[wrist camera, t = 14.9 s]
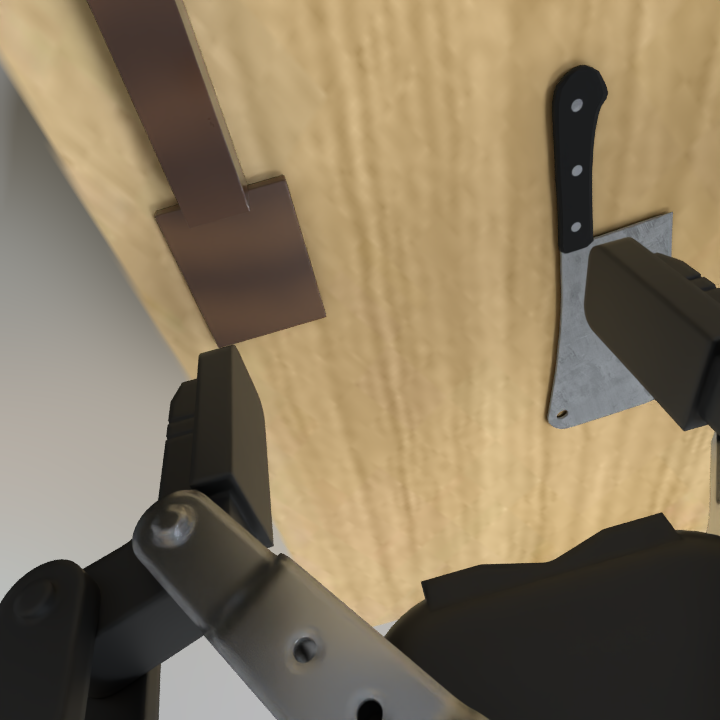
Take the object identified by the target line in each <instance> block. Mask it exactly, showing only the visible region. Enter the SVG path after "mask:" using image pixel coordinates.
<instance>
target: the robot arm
mask: <svg viewBox="0 0 720 720" xmlns="http://www.w3.org/2000/svg"><path fill="white" fill-rule="evenodd" d="M584 313H585V317H586V320H587V323H588V325H589V327H590V328H591V330H592V331H593V332H594V333H595V334H596V335H597V336H598V337H599V339H600V340H601V341H602V342H603V343H604V344H605V345H606V346H607V347H608V348H609V350H610V351H611V352H612V353H613V354H614V355H615V356H616V357H617V358H618V359H619V360H620V362H621V363H622V364H623V365H624V366H625V367H626V368H627V369H628V370H629V371H630V373H631V374H632V375H633V376H634V377H635V378H636V379H637V380H638V381H639V382H640V384H641V385H642V386H643V387H644V388H645V389H646V390H647V391H648V392H649V393H650V394H651V396H652V397H653V398H654V399H655V400H656V401H657V402H658V403H659V404H660V405H661V407H662V408H663V409H664V410H665V411H666V412H667V413H668V414H669V415H670V416H671V417H672V419H673V420H674V421H675V422H676V423H677V424H678V425H679V426H680V427H681V428H682V430H683V431H687V430H690V429H694V428H698V427H701V426H705V425H709V426H710V427H711V428H712V429H713V430H714V431H715V432H714V435H713V438H712V441H711V464H710V502H709V521H708V527H707V531H706V533H704V532H698V531H686V530H675V529H674V528H673V527H672V525H671V524H670V523H669V521H668V520H667V519H666V517H665V516H664V514H663V513H658V514H655V515H651V516H648V517H644V518H641V519H637V520H634V521H630V522H627V523H623V524H620V525H616V526H613V527H609V528H606V529H603V530H601V531H600V532H598V533H596V534H595V535H593V536H592V537H590V538H588V539H587V540H585V541H584V542H582V543H580V544H579V545H577V546H576V547H574V548H572V549H571V550H569V551H568V552H566V553H564V554H563V555H561V556H560V557H558V558H556V559H555V560H553V561H550V562H545V563H516V564H482V565H477V566H474V567H470V568H467V569H463V570H460V571H456V572H453V573H449V574H446V575H442V576H439V577H435V578H432V579H429V580H425V581H422V582H421V584H422V588H423V592H424V596H425V600H423V601H421V602H420V603H418V604H417V605H415V606H414V607H412V608H411V609H410V610H409V611H407V612H406V613H405V614H404V615H403V616H401V618H400V619H399V620H398V621H397V622H396V623H395V624H394V625H393V626H392V627H391V629H390V630H389V631H388V632H387V634H386V635H385V637H383V636H382V635H381V634H380V633H379V632H377V631H376V630H375V629H374V628H373V627H372V626H370V625H369V624H368V623H367V622H366V621H364V620H363V619H362V618H361V617H360V616H359V615H357V614H356V613H355V612H354V611H353V610H351V609H350V608H349V607H348V606H347V605H346V604H344V603H343V602H342V601H341V600H340V599H338V598H337V597H336V596H335V595H334V594H333V593H331V592H330V591H329V590H328V589H327V588H325V587H324V586H323V585H322V584H321V583H320V582H318V581H317V580H316V579H315V578H314V577H312V576H311V575H310V574H309V573H308V572H307V571H305V570H304V569H303V568H302V567H301V566H299V565H298V564H297V563H296V562H295V561H293V560H292V559H291V558H289V557H288V556H286V555H284V554H282V553H280V554H279V555H278V556H277V555H275V554H274V553H272V552H271V551H270V550H269V549H268V548H269V547H272V546H274V544H273V530H272V516H271V502H270V488H269V474H268V460H267V446H266V432H265V419H264V413H263V409H262V405H261V401H260V398H259V396H258V393H257V391H256V389H255V387H254V384H253V382H252V380H251V378H250V376H249V373H248V371H247V369H246V367H245V364H244V362H243V360H242V358H241V356H240V353H239V351H238V349H237V348H236V346H235V345H230V346H226V347H222V348H219V349H215V350H212V351H208V352H204V353H201V354H200V355H199V360H198V373H197V379H194V380H190V381H186V382H183V383H182V384H181V386H180V387H179V389H178V391H177V392H176V394H175V395H174V397H173V399H172V400H171V404H170V411H169V419H168V421H169V424H168V427H167V435H166V437H167V440H166V442H165V450H164V458H163V466H162V475H161V482H160V490H159V498H158V501H157V502H155V503H154V504H153V505H152V506H151V507H150V508H149V509H147V510H146V512H145V513H144V514H143V515H142V517H141V518H140V520H139V521H138V523H137V525H136V527H135V530H134V533H133V538H132V539H131V540H130V541H129V542H128V543H126V544H125V545H123V546H122V547H120V548H118V549H117V550H115V551H113V552H111V553H110V554H108V555H107V556H104V557H103V558H101V559H99V560H98V561H96V562H94V563H92V564H91V565H89V566H87V567H86V568H84V569H82V568H81V567H80V566H79V565H77V564H76V563H74V562H73V561H70V560H63V559H61V560H54V561H50V562H47V563H44V564H42V565H40V566H38V567H36V568H34V569H33V570H31V571H30V572H28V573H27V574H25V575H24V576H23V577H22V578H21V579H19V580H18V581H17V582H16V583H15V584H14V586H13V587H12V588H11V589H10V590H9V591H8V593H7V594H6V595H5V597H4V598H3V600H2V601H1V603H0V720H158V719H159V694H160V669H161V663H162V662H164V661H165V660H167V659H168V658H170V657H171V656H173V655H174V654H176V653H178V652H179V651H181V650H182V649H184V648H185V647H187V646H188V645H189V644H191V643H193V642H194V641H196V640H197V639H199V638H200V637H202V636H203V635H204V636H205V637H206V638H207V640H208V641H209V642H210V643H211V644H212V645H213V646H214V648H215V649H216V650H217V651H218V652H219V654H220V655H221V656H222V657H223V658H224V659H225V660H226V662H227V663H228V664H229V665H230V666H231V667H232V669H233V670H234V671H235V672H236V673H237V674H238V675H239V677H240V678H241V679H242V680H243V681H244V682H245V684H246V685H247V686H248V687H249V688H250V689H251V690H252V692H253V693H254V694H255V695H256V696H257V697H258V699H259V700H260V701H261V702H262V703H263V704H264V705H265V706H266V707H267V709H268V710H269V711H270V712H271V713H272V715H273V716H274V717H275V718H276V719H277V720H720V288H716V286H715V284H714V283H712V282H711V281H709V280H708V279H707V278H705V277H701V274H700V273H698V272H697V271H696V270H694V269H693V268H691V267H690V266H689V265H687V264H686V263H685V262H683V261H681V260H678V259H675V258H672V257H670V256H667V255H664V254H661V253H658V252H657V253H652V252H651V251H650V250H648V249H647V248H646V247H644V246H643V245H642V244H640V243H639V242H638V241H636V240H635V239H633V238H631V237H626V238H622V239H618V240H615V241H611V242H608V243H604V244H600V245H597V246H594V247H592V249H591V250H590V253H589V257H588V267H587V276H586V286H585V296H584Z"/></svg>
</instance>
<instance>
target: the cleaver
mask: <svg viewBox="0 0 720 720" xmlns="http://www.w3.org/2000/svg"><path fill="white" fill-rule="evenodd" d="M607 95H608V91H607V87H606V84H605V82H604V80H603V78H602V76H601V74H600V72H599V71H597V70H596V69H594V68H592V67H589V66H586V65H580V66H577V67H575V68H573V69H571V70H570V71H569V72H568V73H567V74H565V75H564V77H563V78H562V79H561V80H560V82H559V83H558V84H557V85H556V87H555V90H554V95H553V100H552V122H553V140H554V159H555V182H556V194H557V211H558V247H559V251H560V272H561V312H560V328H559V340H558V350H557V359H556V369H555V375H554V381H553V387H552V393H551V399H550V404H549V410H548V415H547V419H548V422H549V423H550V424H551V425H552V426H553V427H555V428H559V429H565V428H570V427H573V426H576V425H580V424H583V423H586V422H589V421H592V420H595V419H598V418H601V417H604V416H607V415H611V414H614V413H617V412H620V411H623V410H626V409H629V408H632V407H635V406H638V405H641V404H644V403H647V402H649V401H652V400H654V398H653V397H652V396H651V394H650V393H649V392H648V391H647V390H646V389H645V388H644V387H643V386H642V385H641V384H640V382H639V381H638V380H637V379H636V378H635V377H634V376H633V375H632V374H631V373H630V371H629V370H628V369H627V368H626V367H625V366H624V365H623V364H622V363H621V362H620V360H619V359H618V358H617V357H616V356H615V355H614V354H613V353H612V352H611V351H610V350H609V348H608V347H607V346H606V345H605V344H604V343H603V342H602V341H601V340H600V339H599V337H598V336H597V335H596V334H595V333H594V332H593V331H592V330H591V328H590V327H589V325H588V323H587V320H586V317H585V313H584V296H585V286H586V276H587V267H588V257H589V253H590V250H591V249H592V247H594V246H597V245H600V244H604V243H608V242H611V241H615V240H618V239H622V238H626V237H631V238H633V239H635V240H636V241H638V242H639V243H640V244H642V245H643V246H644V247H646V248H647V249H648V250H650V251H651V252H652V253H657V252H658V253H661V254H664V255H667V256H670V257H671V248H672V218H673V212H670V213H667V214H663V215H659V216H656V217H653V218H650V219H647V220H644V221H641V222H638V223H635V224H632V225H630V226H627V227H624V228H621V229H618V230H615V231H612V232H609V233H606V234H603V235H600V236H597V237H594V238H593V215H592V164H593V146H594V137H595V130H596V124H597V119H598V114H599V111H600V108H601V106H602V104H603V103H604V101H605V100H606V98H607ZM563 410H567V413H566V414H565V415H564V416H562V417H557V414H558V413H559V412H561V411H563Z"/></svg>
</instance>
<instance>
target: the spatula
mask: <svg viewBox="0 0 720 720" xmlns="http://www.w3.org/2000/svg"><path fill="white" fill-rule="evenodd" d="M87 2H88V4H89V6H90V9H91V11H92V13H93V15H94V17H95V20H96V22H97V24H98V26H99V29H100V31H101V33H102V35H103V37H104V40H105V42H106V44H107V46H108V49H109V51H110V53H111V55H112V57H113V60H114V62H115V64H116V66H117V69H118V71H119V73H120V75H121V77H122V80H123V82H124V84H125V86H126V89H127V91H128V93H129V95H130V97H131V100H132V102H133V104H134V106H135V109H136V111H137V113H138V115H139V117H140V120H141V122H142V124H143V126H144V129H145V131H146V133H147V135H148V137H149V140H150V142H151V144H152V146H153V149H154V151H155V153H156V155H157V157H158V160H159V162H160V164H161V166H162V169H163V171H164V173H165V175H166V177H167V180H168V182H169V184H170V186H171V189H172V191H173V193H174V195H175V197H176V200H177V202H178V204H179V205H175V206H172V207H168V208H165V209H161V210H157V211H156V213H155V219H156V221H157V223H158V225H159V227H160V229H161V231H162V233H163V235H164V237H165V239H166V241H167V244H168V246H169V248H170V250H171V252H172V254H173V256H174V258H175V260H176V262H177V264H178V266H179V268H180V270H181V272H182V274H183V276H184V278H185V280H186V282H187V284H188V286H189V288H190V290H191V293H192V295H193V297H194V299H195V301H196V303H197V305H198V307H199V309H200V311H201V313H202V315H203V317H204V319H205V321H206V323H207V325H208V327H209V329H210V331H211V333H212V335H213V337H214V339H215V341H216V344H217V346H218V347H219V348H221V347H225V346H228V345H232V344H235V343H239V342H242V341H245V340H249V339H252V338H256V337H259V336H263V335H266V334H269V333H273V332H276V331H280V330H283V329H287V328H290V327H293V326H297V325H300V324H304V323H307V322H311V321H314V320H318V319H321V318H324V317H326V313H325V309H324V306H323V303H322V299H321V296H320V293H319V289H318V286H317V283H316V279H315V276H314V273H313V269H312V266H311V262H310V259H309V256H308V252H307V249H306V246H305V242H304V239H303V236H302V232H301V229H300V226H299V222H298V219H297V216H296V212H295V209H294V206H293V202H292V199H291V196H290V192H289V189H288V185H287V182H286V179H285V176H284V175H282V176H278V177H275V178H271V179H268V180H264V181H261V182H257V183H253V184H250V185H247V182H246V179H245V176H244V173H243V170H242V168H241V165H240V162H239V159H238V156H237V153H236V150H235V148H234V145H233V142H232V139H231V136H230V133H229V130H228V128H227V125H226V122H225V119H224V116H223V113H222V110H221V108H220V105H219V102H218V99H217V96H216V93H215V90H214V88H213V85H212V82H211V79H210V76H209V73H208V70H207V68H206V65H205V62H204V59H203V56H202V53H201V50H200V47H199V45H198V42H197V39H196V36H195V33H194V30H193V27H192V25H191V22H190V19H189V16H188V13H187V10H186V7H185V5H184V2H183V0H87Z"/></svg>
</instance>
